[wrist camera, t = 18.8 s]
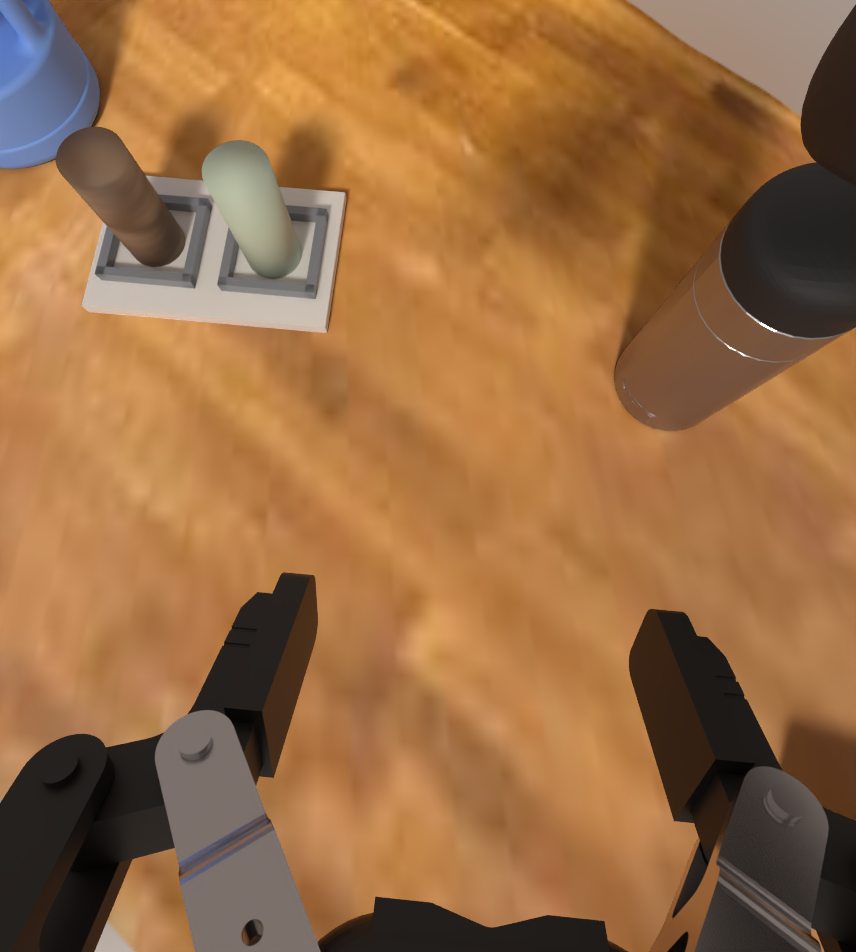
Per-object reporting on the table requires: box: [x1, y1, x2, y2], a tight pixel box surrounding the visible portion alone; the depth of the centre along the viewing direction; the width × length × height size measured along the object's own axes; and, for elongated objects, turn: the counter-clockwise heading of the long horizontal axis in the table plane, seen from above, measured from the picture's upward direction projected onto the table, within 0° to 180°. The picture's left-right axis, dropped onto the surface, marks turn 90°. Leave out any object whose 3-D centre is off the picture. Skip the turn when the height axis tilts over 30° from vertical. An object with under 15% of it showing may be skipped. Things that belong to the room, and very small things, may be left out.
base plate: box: [82, 176, 347, 333], centre depth 48 cm, size 22×14×2 cm, turn 85°
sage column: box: [202, 140, 302, 279], centre depth 43 cm, size 5×5×10 cm
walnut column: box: [56, 127, 185, 267], centre depth 44 cm, size 5×5×10 cm
